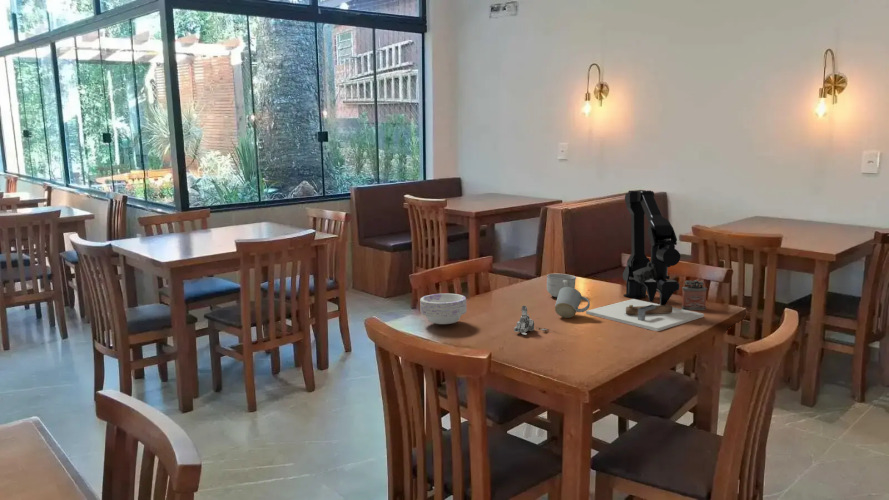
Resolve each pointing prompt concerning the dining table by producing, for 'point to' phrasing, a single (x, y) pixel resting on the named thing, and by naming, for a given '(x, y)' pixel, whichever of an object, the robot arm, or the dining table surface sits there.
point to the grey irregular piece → (525, 322)
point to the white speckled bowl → (443, 307)
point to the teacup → (559, 283)
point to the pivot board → (651, 320)
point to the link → (658, 309)
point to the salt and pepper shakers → (528, 431)
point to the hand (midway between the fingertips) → (656, 304)
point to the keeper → (642, 311)
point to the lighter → (694, 296)
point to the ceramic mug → (569, 302)
